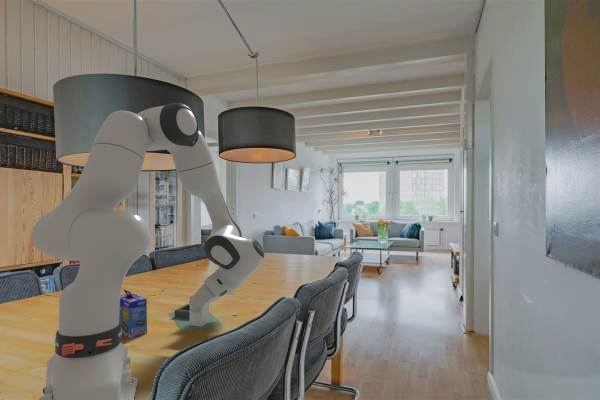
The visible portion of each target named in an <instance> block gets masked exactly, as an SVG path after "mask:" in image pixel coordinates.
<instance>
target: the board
mask: <svg viewBox="0 0 600 400" xmlns="http://www.w3.org/2000/svg"><path fill="white" fill-rule="evenodd" d="M168 315H169V316H170V318H171V319H172V320H173V321H174V323H175V325H177V327H178V328H179V330H180V331H181V332H187V331H193V330H198V329H199V330H200V329H205V328H206V329H207V328H211V327H217V326H224V324H223V323H222V322H221V321H220V320H219V319H218V318H217V317H215V316H214V315H213V314H212V313H211V312H210V311H209V322H208V323H207V324H205V325H204V326H202V327H201V326H191V325H189V318H190V304H189V303H186V304H185V305H182V306H181V307H178V308H176V309H174V312H168Z"/></svg>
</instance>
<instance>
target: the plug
mask: <svg viewBox="0 0 600 400" xmlns="http://www.w3.org/2000/svg"><path fill="white" fill-rule="evenodd" d="M191 298H192V296H190V297H189V300H190V299H191ZM191 308H192V307H191V306H190V318H189V325H191V326H201V327H202V326H204V325H205V324H207V323H208V322H209V312H210V303H209V304H208V305H206V306H204V307H202V308H200V309H199V310H198V311H197V312H195V313H192V311H191Z"/></svg>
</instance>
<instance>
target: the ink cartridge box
mask: <svg viewBox="0 0 600 400" xmlns="http://www.w3.org/2000/svg"><path fill="white" fill-rule="evenodd" d="M123 291H124V293H125V294H121V296H120V313H119V321H120V322H121V328H122V334H121V336H122V335H123V336H124V337H125V338H129V339H132V338H133V339H134V338H137V337H141V336H144V335H147V334H148V310H147V309H148V303H147V301H148V300H147V298H146V297H144V296H140V295H138V294H136V293H133V292H131V291H130V290H127V289H123Z"/></svg>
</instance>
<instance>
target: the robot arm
mask: <svg viewBox="0 0 600 400" xmlns="http://www.w3.org/2000/svg"><path fill="white" fill-rule="evenodd" d="M199 125H200V124H199V121H198V119H197V116H196V113H195V112H194V110H192V109H191V108H190V107H189V106H188V105H186V104H184V103H181V102H180V103H179V102H177V103H176V102H172V103H167V104H165V105H160V106H155V107H150V108H147V109H143V110H142V111H139V112H138V113H135V112H132V111H129V110H123V109H121V110H116V111H115V110H114V111H113V112H112V113H111V112H110V113H109V115H108V116H107V117H106V119H105V120H104V122H103V123H102V124H101V126H100V128H99V130H98V132H97V134H96V136H95V138H94V141H93V143H92V146H91V149H90V151H89V153H88V157H87V159H86V162H85V165H84V167H83V169H82V172H81V175H80V176H79V178H78V180H77V181H76V183H75V184H74V185H73V187H72V188H71V190H70V191H69V192H68V194H66V196H65V197H64V198H63V199H62V200H61V202H60V203H59V204H58V205H56V207H55V208H53V209H52V210H51V211H50V212H47V213H46V214H44V215H42V216H41V217H40V218H39V219H38V220H37V221H36V222H35V224H34V225H33V229H32V233H31V239H32V244H33V245H34V247H35V249H36V250H37V251H38V252H39V253H41V254H43V255H46V256H48V257H51V258H55V259H58V260H60V261H73V262H79V268H78V272H77V274H76V276H75V279H74V280H73V282H71V283H69V284H68V285H66V287H64V288H63V289H62V291H61V292H60V293H59V297H58V300H59V301H58V330H57V331H56V333H55V338H54V345H55V346H54V354H53V355H52V356H51V357H50V358H48V360H46V371H45V372H46V373H45V375H46V377H45V386H44V387H43V389H42V394H43V395H41V396H39V397H38V398H36V399H35V400H134V396H135V397H136V395H135V390H136V391H137V389H136V386H137V387H138V384H137V382H138V381H139V380H138V377H136V376H133V369H128V368H129V367H128V366H129V365H130V364H131V357H130V356H129V357H128V353H129V352H128V351H129V347H128V346H127V345H126V344H124V343H123V342H122V328H121V322H120V321H119V313H120V296H121V295H122V293H121V292H122V288H123V283H124V280H125V278H126V276H127V273H128V272H129V270H130V268H131V267H132V265H133V264H134V263H135V262H136V261H137V260H139V259H140V258H141V257H142V256H143V255H144V254H145V253H146V251H147V250H148V248H149V245H150V243H151V232H150V231H151V230H150V227H149V224H148V222H147V221H146V219H144V217H142V216H140V215H138V214H135V213H131V212H128V211H123V210H116V209H115V208H116V207H117V206H118V205H119V204H120V203H122V202H123V201H125V200H126V199H128V198H129V197H131V196H132V195H133V194H134V192H135V191H136V189H137V186H138V183H139V178H140V175H141V173H142V169H143V165H144V161H145V159H146V158H145V157H146V153H152V152H154V151H163V150H165V151H167V152H169V153H170V155H171V156H172V161H173V164H174V167H175V171H176V174H177V177H178V179H179V182H180V183H181V186H182V187H183V189H184V190H185V192H187V194H189V195H191V196H194V197H196V198H199V199H201V201H202V202H203V203H204V206H205V208H206V211H207V213H208V216H209V219H210V221H211V232H210V234H209V236H208V238H207V239H206V241H205V243H204V247H203V252H204V254H205V256H206V258H207V259H208V260H209V261H210V262H212V263H213V264H215V265H217V266H218V268H217V269H216V270H215V271H214V272H213V273H212V274H211V275H210V276H208V277H207V278H205V280H204V281H203V284H202V285H201V286H200V287H199V288H198V290H196V292H195V293H194V294H193V295H191V297H192V298H191V299H190V298H189V301H188V304H190V306H191V307H192V308H191V311H192V313H195V312H197V311H198V310H199V309H200V308H202V307H204V306H206V305H208V304H209V305H210V304H211V303H213V302H215V301H217V300H218V299H220V298H222V297H224V296H226V295H232V294H233V293H234V292H235V291H237V289H238V288H239V287H240V286H241V285H242V284H243V283H244V281H245V279H246V278H248V277H250V276H251V275H252V274H253V273H254V272H255V271H256V270H257V269H258V268H260V266H261V265H262V263H263V261H264V259H265V252H264V249H263V247H262V245H261V244H260V243H259V242H258V241H257V239H255V238H246V237H242V234H243V233H242V230H241V228H240V227H239V225H238V224H237V223H236V222H235V220H234V219H233V218H232V216H231V215H230V212H229V209H228V206H227V204H226V201H225V198H224V195H223V193H222V191H221V190H222V188H221V186H220V185H221V184H220V180H219V175H218V171H217V166H216V163H215V160H214V158H213V155H212V151H211V150H210V147H209V144H208V142H207V141H206V138H205V136H204V134H202V132H201V131H200V126H199ZM130 383H132V384H130ZM138 383H139V382H138Z"/></svg>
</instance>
